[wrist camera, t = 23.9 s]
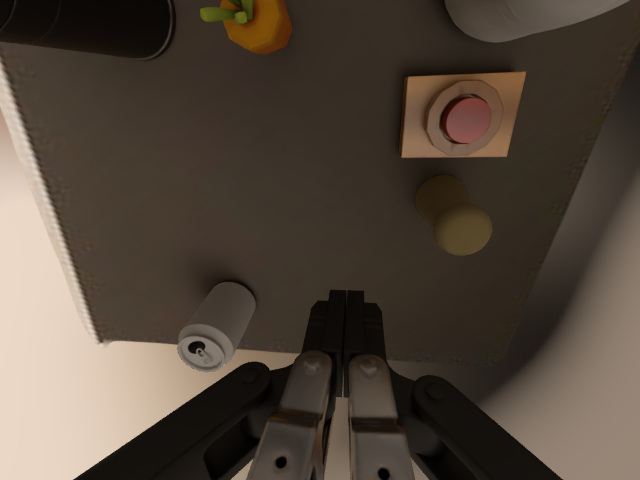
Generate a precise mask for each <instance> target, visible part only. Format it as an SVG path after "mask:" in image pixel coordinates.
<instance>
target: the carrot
mask: <svg viewBox="0 0 640 480" xmlns="http://www.w3.org/2000/svg"><path fill="white" fill-rule="evenodd" d="M200 16H201V18H202V19H203V20H205V21H206V22H211V21H218V20H223V23H224V26H225V28H226V31H227V34H228V36H229V39H231V40H232V41H234V42H236V43H237V44H239V45H241V46H242V47H244V48H246V49H248V50H249V51H251V52H253V53H257V54H265V55H266V54H269V53H272V52H274V51H277V50H279V49H281V48H284V47H286V46H287V44H288V41H289V39H290V36H291V33H292V25H291V22H290V18H289V15H288V11H287V8H286V5H285V2H284V0H222V1H221V5H220V8H217V7H205V8H201V9H200Z"/></svg>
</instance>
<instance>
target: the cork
mask: <svg viewBox="0 0 640 480" xmlns="http://www.w3.org/2000/svg"><path fill="white" fill-rule="evenodd" d="M415 204H416V208H417V210H418V211H419V213H420V214H421V215H422V216H423V218H424V219H425V220H426V221H427V222H428V223H429V224H430V225H431V226H432V227H433V228H434V229H433V232H434V237H435V240H436V241H437V243H438V244H439V246H440V247H441V248H443V249H444V250H445V251H447V252H448V253H451V254H454V255H468V254H473V253H475V252H477V251H479V250H480V249H481V248H483V247H484V246H485V245H486V243H487V242H488V240H489V239H490V237H491V233H492V224H491V220H490V218H489V216H488V214H487V213H486V212H485V211H484V210H483V209H481V208H480V207H479V206H476V205H473V204H472V202H471V200H470V198H469V196H468V194H467V192H466V190H465V188H464V186H463V184H462V182H461V181H459V180H458V179H457V178H456V177H453V176H450V175H438V176H434V177H431V178H430V179H428V180H426V181H425V182H424V183H423V184H422V185H421V186H420V187H419V189H418V191H417V193H416V198H415Z"/></svg>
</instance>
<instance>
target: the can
mask: <svg viewBox="0 0 640 480" xmlns="http://www.w3.org/2000/svg"><path fill="white" fill-rule="evenodd" d="M255 308H256V302H255V299H254V297H253V295H252V294H251V293H250V291H249V290H248V289H246V288H245V287H244V286H242V285H239V284H237V283H233V282H223V283H220V284H218V285H216V286H215V287H214V288H213V289H212V290H211V291H210V293H209V294H208V295H207V297H206V298H205V300H204V301H203V302H202V304H201V305H200V306H199V308H198V309H197V310H196V312H195V313H194V314H193V316H192V317H191V318H190V320H189V321H188V323H187V324H186V325H185V327H184V328H183V329H182V331H181V332H180V335H179V344H178V348H177V349H178V354H179V356H180V358H181V359H182V360H183V361H184V362H185V363H186V364H187V365H189V366H190V367H191V368H193V369H196V370H198V371H203V372H213V371H216V370H219V369H220V368H221V367H222V366H223V365H224V364H227V363H228V362H229V361H230V360H231V359H232V357H233V355H234V353H235V351H236V349H237V346H238V344H239V342H240V340H241V338H242V336H243V334H244V332H245V330H246V328H247V326H248V323H249V321H250V319H251V317H252V315H253V313H254V311H255Z"/></svg>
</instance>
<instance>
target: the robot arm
mask: <svg viewBox="0 0 640 480" xmlns="http://www.w3.org/2000/svg"><path fill="white" fill-rule="evenodd" d="M174 31H175V9H174V4H173V0H0V42H7V43H17V44H25V45H33V46H41V47H49V48H57V49H64V50H72V51H80V52H88V53H96V54H104V55H112V56H118V57H126V58H130V59H134V60H152V59H155V58H157V57H159V56H160V55H162V54H163V53H164V52H165V51H166V50H167V48H168V47H169V45H170V43H171V41H172V39H173V35H174ZM343 371H344V397H345V398H348V434H349V460H350V480H415V477H414V472H413V467H412V463H411V458H412V459H413V460H414V462H415V463H416V464H417V465H418V466H419V468H420V469H421V470H422V471H423V473H424V474H425V475H426V476H427V477H428V479H429V480H563V479H561V478H560V477H559V476H558V475H557V474H556V473H554V472H553V471H552V470H551V469H550V468H548V467H547V466H546V465H545V464H544V463H543V462H542V461H540V460H539V459H538V458H537V457H536V456H535V455H533V454H532V453H531V452H530V451H529V450H527V449H526V448H525V447H524V446H523V445H521V443H519V442H518V441H517V440H516V439H515V438H514V437H512V436H511V435H510V434H509V433H507V431H505V430H504V429H503V428H502V427H501V426H500V425H498V424H497V423H496V422H495V421H494V420H493V419H491V418H490V417H489V416H488V415H487V414H486V413H484V412H483V411H482V410H481V409H480V408H479V407H477V406H476V405H475V404H474V403H473V402H471V401H470V400H469V399H468V398H467V397H466V396H465V395H463V394H462V393H461V392H460V391H459V390H458V389H456V388H455V387H454V386H453V385H452V384H451V383H449V382H448V381H446V380H445V379H443V378H441V377H438V376H433V375H426V376H422V377H420V378H418V379H417V380H416V381H414V380H411V379H408V378H405V377H403V376H401V375H399V374H397V373H396V372H394V371H393V370H392V369H391V367H390V366H389V365H388V363H387V360H386V354H385V343H384V332H383V322H382V311H381V310H380V308H379V307H378V305H377V304H376V303H364V291H352V290H348V293H347V308H346V290H330V293H329V300H328V301H317V302H316V303H315V304H314V306H313V307H312V308H311V313H310V318H309V321H308V326H307V330H306V335H305V339H304V344H303V348H302V352H301V354H300V355H299V356H298V357H297V358H296V359H295V361H294V363H293V364H291V365H289V366H287V367H285V368H280V369H276V370H271V371H270V370H269V368H268V367H267V366H266V365H265V364H263V363H260V362H248V363H245V364H243V365H241V366H239V367H238V368H236V369H235V370H233V371H232V372H230V373H229V374H227V375H226V376H225V377H223V378H222V379H220V380H219V381H217V382H216V383H214V384H213V385H211V386H210V387H208V388H207V389H205V390H204V391H203V392H201V393H200V394H198V395H197V396H195V397H194V398H192V399H191V400H189V401H188V402H186V403H185V404H183V405H182V406H181V407H179V408H178V409H177V410H175V411H173V412H172V413H170V414H169V415H167V416H166V417H165V418H163V419H162V420H160V421H159V422H157V423H156V424H155V425H153V426H152V427H150V428H148V429H147V430H146V431H144V432H142V433H141V434H140V435H138V436H137V437H135V438H134V439H132V440H131V441H130V442H128V443H126V444H125V445H124V446H122V447H121V448H119V449H118V450H116V451H115V452H113V453H112V454H110V455H109V456H107V457H106V458H104V459H103V460H101V461H100V462H99V463H97V464H96V465H94V466H93V467H91V468H90V469H88V470H87V471H85V472H84V473H82V474H81V475H79V476H78V477H77V478H75V479H74V480H231V479H232V477H234V476H235V475H236V474H237V473H238V472H239V471H240V470H241V469H242V468H243V467H245V466H246V465H247V464H248V463H249V462H250V461H251V460H252V459H253V458H254V459H253V462H252V465H251V467H250V471H249V473H248V476H247V478H246V480H324V474H325V467H326V461H327V455H328V448H329V442H330V436H331V430H332V424H333V417H334V411H335V403H336V397H342V387H343Z"/></svg>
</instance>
